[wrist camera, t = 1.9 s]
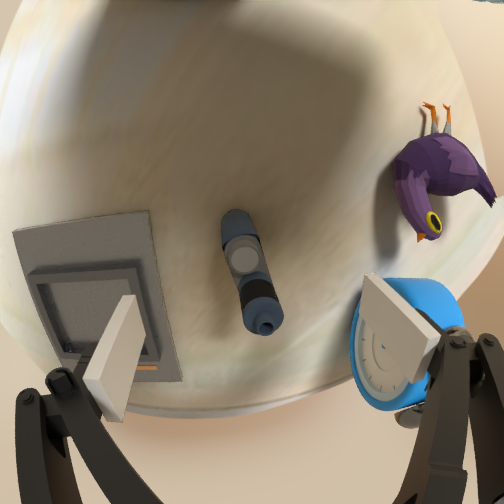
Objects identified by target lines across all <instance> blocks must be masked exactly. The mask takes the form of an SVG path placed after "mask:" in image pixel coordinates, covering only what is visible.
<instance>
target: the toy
mask: <svg viewBox="0 0 504 504" xmlns="http://www.w3.org/2000/svg"><path fill="white" fill-rule="evenodd" d="M423 103H424V104H425V105H423V106H425V107H427V108H429V109H431V116H432V127H431V134H430V135H427V136H424V137H421V138H418V139H415V140H412V141H410V142H409V143H408V144H407V145H406V146H405V148H404V149H403V150H402V151H401V152H400V154H399V155H398V156H397V157H396V158H395V160H394V161H393V162H392V165H393V179H394V189H395V192H396V195H397V198H398V200H399V203H400V207H401V210H402V213H403V215H404V216H405V218H406V219H407V220H408V222H409V223H410V224H411V226H412V227H413V228H414V230H415V231H416V232H417V243H418V242H419V241H420V240H422V239H423V238H425V239H428V240H435V239H437V238H439V237H440V235H441V233H442V229H443V226H442V223H441V221H440V219H439V218H438V216H437V215H436V214H435V213H434V211H433V209H432V207H431V205H430V202H429V198H428V194H427V193H430V194H434V195H439V196H454V195H457V194H459V193H461V192H463V191H466V190H469V189H474V190H475V191H477V192H478V193H479V194H480V195H481V196H482V197H483V198H484V199H485V200H486V202H487V203H488V204H489V206H490V207H491V208H492V206H493V204H492V203H494V202H495V199H496V198H497V196H496V194H495V191H494V189H493V186H492V185H491V182H490V181H489V179H488V177H487V175H486V173H485V171H484V170H483V169H482V167H481V166H480V165H479V164H478V162H477V160H476V159H475V157H474V156H473V154H472V153H471V152H470V151H469V149H468V148H467V147H466V146H465V145H464V144H463V143H461V142H460V141H458V140H457V139H455V138H454V137H452V136H451V119H450V106H449V107H447V106H446V105H444V104H443V106H444V108H445V109H446V110H447V122H446V125H445V128H444V130H443V133H439V131H438V127H437V119H436V112H435V106H433V105H430V104H428V103H425V102H423ZM495 197H496V198H495ZM494 198H495V199H494ZM493 201H494V202H493ZM495 203H496V202H495ZM491 205H492V206H491Z"/></svg>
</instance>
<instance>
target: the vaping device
mask: <svg viewBox="0 0 504 504" xmlns="http://www.w3.org/2000/svg"><path fill="white" fill-rule="evenodd" d="M221 233H222V248H223V251H224V253H225V258H226V260H227V263H228V266H229V268H230V271H231V273H232V276H233V278H234V281H235V284H236V286H237V289H238V291H239V296H240V303H241V309H242V316H243V322H244V325H245V327H246V328H247V329H248V330H249V331H250V332H252V333H254V334H259V335H262V336H268V335H271V334H272V333H273V332H274V331H275V330H276V329H278V328H279V327H280V325H281V324H282V322H283V318H284V314H283V311H282V308H281V305H280V303H279V300H278V297H277V295H276V292H275V290H274V287H273V283H272V280H271V277H270V274H269V271H268V267H267V264H266V261H265V258H264V254H263V251H262V247H261V244H260V240H259V237H258V235H257V232H256V230H255V227H254V225H253V223H252V220H251V218H250V216H249V214H248V213H246V212H245V211H242V210H233V211H230V212H228V213H227V214H226V215H225V216H224V217H223V219H222V222H221Z"/></svg>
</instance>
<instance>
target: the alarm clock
mask: <svg viewBox="0 0 504 504" xmlns="http://www.w3.org/2000/svg"><path fill="white" fill-rule="evenodd" d="M383 280H384V281H385V282H386V283H387V284H388V285H389V286H390V287H392V288H393V289H394V290H395V291H396V292H397V293H398V294H399V295H400V296H401V297H402V298H403V299H404V300H405V301H406V302H408V303H409V304H410V305H411V306H412V307H413V308H414V309H415V308H418V309H420V310H422V311H423V312H425V313H426V314H427V315H428V316H429V317H430V319H432V320H433V321H435V323H437V324H438V325H439V326H440V327H441V328H442V329H443V330H444V331H445V332H446V333H447V334H448V335H449V336H452V335H453V336H459V337H462V338H463V339H465V340H466V341H467V343H474V342H475V340H474V338H473V336H472V334H471V332H470V331H469V330H468V329H467V328H465V326H464V320H463V316H462V313H461V310H460V308H459V305H458V303H457V301H456V300H455V298H454V296H453V295H452V294H451V292H450V291H449V290H448V289H447V288H446V287H445V286H444V285H442V284H441V283H439V282H437V281H434V280H431V279H419V278H383ZM360 302H361V298H360V300H359V302H358V305H357V307H356V310H355V313H354V317H353V321H352V326H351V333H350V359H351V367H352V372H353V375H354V379H355V382H356V384H357V387H358V389H359V391H360V393H361V395H362V396H363V397H364V399H365V400H366V401H367V402H368V403H369V404H370V405H371V406H373V407H374V408H376V409H379V410H382V411H393V410H397V409H401V408H405V407H409V406H412V405H415V404H416V405H417V406H414V407H411V408H408V409H405V410H403V411H400V412H397V413H395V414H394V416H395V419H396V421H397V423H398V424H399V425H400V426H402V427H405V428H410V429H412V428H418V427H419V426H420V422H421V418H422V413H423V409H424V404H425V403H423V404H419V403H422V402H425V398H426V393H427V390H426V392H425V391H424V389H425V387H426V385H427V383H428V381H429V379H430V376H431V375H430V373H429V372H428V371H427V372H426V375H425V377H424V379H423V380H421V381H418V382H416V383H413V384H411V383H410V382H409V380H408V379H407V377H406V376H405V375H404V373H403V372H402V371H401V369H400V368H399V366H398V365H397V364H396V362H395V361H394V360H393V358H392V357H391V355H390V354H389V353H388V351H387V350H386V349H385V347H384V346H383V345H382V343H381V342H380V341H379V339H378V338H377V337H376V335H375V334H374V333H373V331H372V330H371V329H370V327H369V326H368V325H367V323H366V322H365V321H364V320H363V318H362V317H361V316H360V314H359V308H360Z"/></svg>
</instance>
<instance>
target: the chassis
mask: <svg viewBox="0 0 504 504" xmlns="http://www.w3.org/2000/svg"><path fill="white" fill-rule="evenodd" d="M12 233H13V237H14V241H15V245H16V249H17V253H18V256H19V260H20V263H21V266H22V270H23V273H24V276H25V279H26V282H27V285H28V288H29V291H30V293H31V296H32V299H33V302H34V304H35V307H36V309H37V312H38V314H39V317H40V319H41V322H42V324H43V326H44V329H45V331H46V333H47V335H48V338H49V340H50V342H51V344H52V346H53V348H54V350H55V352H56V354H57V356H58V358H59V360H60V362H61V364H62V366H63V367H65V368H68V369H70V370H71V372H72V373H73V371H74V369H75V367H76V365H77V363H78V361H79V359H80V357H81V355H82V353H83V351H84V349H85V348H86V347H87V346H88V345H89V344H90V343H99V341H100V339H101V337H102V335H103V333H104V331H105V329H106V327H107V325H108V323H109V321H110V319H111V317H112V315H113V313H114V311H115V309H116V307H117V305H118V304H119V302H120V300H121V298H122V296H123V295H136V300H137V304H138V307H139V311H140V315H141V319H142V323H143V326H144V330H145V333H146V336H145V339H144V343H143V346H142V350H141V353H140V357H139V360H138V364H137V367H136V371H135V374H134V378H133V382H181V381H182V378H183V376H182V373H181V369H180V365H179V362H178V358H177V354H176V350H175V346H174V342H173V338H172V334H171V330H170V326H169V321H168V317H167V312H166V308H165V303H164V298H163V294H162V289H161V284H160V278H159V273H158V268H157V262H156V256H155V250H154V244H153V238H152V232H151V225H150V218H149V211H140V212H131V213H123V214H114V215H107V216H99V217H92V218H84V219H77V220H71V221H64V222H57V223H51V224H45V225H39V226H33V227H27V228H22V229H16V230H15V231H13V232H12Z"/></svg>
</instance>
